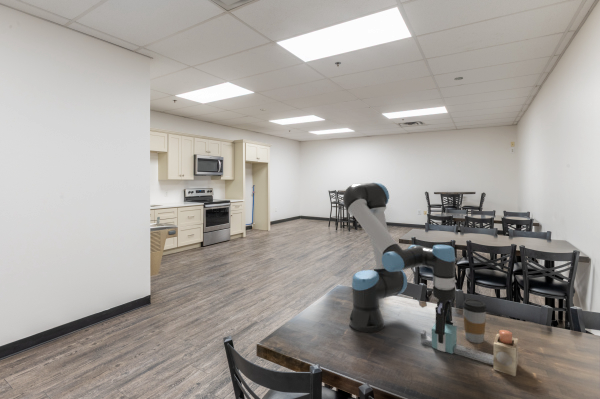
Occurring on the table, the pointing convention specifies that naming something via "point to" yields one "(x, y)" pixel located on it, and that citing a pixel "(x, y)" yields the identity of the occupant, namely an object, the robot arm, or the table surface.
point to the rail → (462, 350)
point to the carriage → (450, 337)
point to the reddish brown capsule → (505, 336)
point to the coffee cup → (474, 320)
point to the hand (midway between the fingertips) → (444, 345)
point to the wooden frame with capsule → (505, 356)
